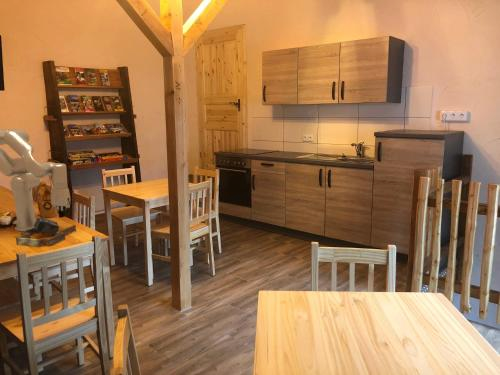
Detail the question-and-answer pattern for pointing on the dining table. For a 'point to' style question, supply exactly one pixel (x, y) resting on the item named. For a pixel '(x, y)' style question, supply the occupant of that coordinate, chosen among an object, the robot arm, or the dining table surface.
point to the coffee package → (45, 202)
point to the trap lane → (26, 238)
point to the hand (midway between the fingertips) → (62, 216)
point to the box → (46, 226)
